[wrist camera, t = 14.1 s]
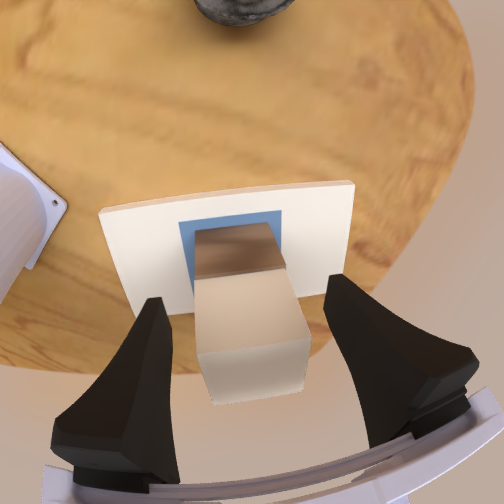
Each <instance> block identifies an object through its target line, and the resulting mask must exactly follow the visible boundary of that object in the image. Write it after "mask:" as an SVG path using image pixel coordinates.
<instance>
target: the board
mask: <svg viewBox="0 0 504 504" xmlns="http://www.w3.org/2000/svg"><path fill="white" fill-rule="evenodd" d="M354 190H355V184H353V183H352V182H351V181H350V180H336V181H318V182H303V183H289V184H277V185H265V186H255V187H245V188H235V189H226V190H217V191H209V192H201V193H193V194H186V195H179V196H172V197H165V198H158V199H152V200H145V201H139V202H133V203H127V204H121V205H116V206H110V207H105V208H102V209H101V211H100V212H99V214H98V215H99V219H100V222H101V225H102V228H103V232H104V235H105V238H106V241H107V244H108V247H109V250H110V253H111V256H112V259H113V261H114V264H115V267H116V270H117V272H118V275H119V278H120V280H121V283H122V286H123V288H124V291H125V293H126V296H127V298H128V301H129V303H130V306H131V308H132V310H133V313H134V315H135V317H136V318H137V317H138V315H139V313H140V311H141V309H142V307H143V305H144V303H145V301H146V300H147V298H153V297H162V300H163V303H164V306H165V309H166V312H167V315H176V314H185V313H194V312H195V304H194V280H195V230H202V229H210V228H219V227H227V226H236V225H245V224H254V223H263V222H268V224H269V226H270V228H271V231H272V233H273V235H274V237H275V240H276V242H277V244H278V247H279V249H280V251H281V254H282V256H283V258H284V261H285V263H286V273H287V275H288V278H289V280H290V283H291V285H292V287H293V290H294V292H295V295H296V297H297V298H301V297H307V296H313V295H318V294H324V293H326V290H327V284H328V278H329V275H334V274H340V273H343V268H344V262H345V256H346V250H347V243H348V237H349V230H350V223H351V215H352V207H353V199H354Z"/></svg>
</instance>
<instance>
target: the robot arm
mask: <svg viewBox="0 0 504 504" xmlns="http://www.w3.org/2000/svg"><path fill="white" fill-rule="evenodd" d="M54 200H56V201H57V202H58V204H55V202H54ZM66 209H67V203H66V201H65V200H64V199H62V198H61V197H60V196H59V195H58V194H56V193H55V192H54V191H53V190H52V189H51V188H49V187H48V186H47V185H46V184H45V183H44V182H43V181H41V180H40V179H39V178H38V177H37V176H36V175H35V174H34V173H32V172H31V171H30V170H29V169H28V168H27V167H26V166H25V165H24V164H22V163H21V162H20V161H19V160H18V159H17V158H16V157H15V156H14V155H13V154H12V153H11V152H10V151H9V150H8V149H6V148H5V147H4V146H3V145H2V144H1V143H0V305H1V303H2V301H3V299H4V298H5V296H6V294H7V293H8V291H9V289H10V288H11V286H12V284H13V283H14V281H15V279H16V278H17V276H18V275H19V273H20V272H21V270H22V268H23V267H25V268H27V269H29V270H31V269H32V268H33V267H34V265H35V263H36V261H37V259H38V257H39V255H40V254H41V252H42V250H43V248H44V246H45V244H46V243H47V241H48V239H49V237H50V236H51V234H52V232H53V230H54V229H55V227H56V225H57V224H58V222H59V220H60V219H61V217H62V216H63V214H64V212H65V211H66ZM323 309H324V313H325V316H326V319H327V322H328V325H329V328H330V330H331V332H332V334H333V336H334V338H335V340H336V342H337V345H338V347H339V349H340V351H341V353H342V355H343V357H344V359H345V361H346V363H347V365H348V368H349V370H350V372H351V375H352V378H353V381H354V384H355V387H356V391H357V394H358V397H359V401H360V405H361V408H362V412H363V416H364V421H365V425H366V430H367V435H368V441H369V447H370V449H369V450H366V451H363V452H360V453H357V454H354V455H351V456H348V457H345V458H342V459H338V460H335V461H332V462H329V463H325V464H321V465H317V466H313V467H309V468H306V469H302V470H297V471H293V472H287V473H282V474H278V475H272V476H267V477H260V478H254V479H246V480H238V481H228V482H219V483H218V482H217V483H203V484H179V483H180V478H179V472H178V467H177V461H176V455H175V448H174V441H173V433H172V423H171V410H170V385H171V369H172V354H173V343H172V328H171V325H170V322H169V319H168V316H167V312H166V309H165V306H164V303H163V300H162V297H153V298H147V300H146V301H145V303H144V305H143V307H142V309H141V311H140V313H139V315H138V317H137V319H136V321H135V323H134V324H133V326H132V328H131V330H130V331H129V333H128V335H127V337H126V338H125V340H124V342H123V343H122V345H121V346H120V348H119V350H118V351H117V353H116V354H115V356H114V357H113V359H112V360H111V362H110V363H109V364H108V366H107V367H106V368H105V370H104V371H103V372H102V373H101V375H100V376H99V377H98V378H97V380H96V381H95V382H94V383H93V384H92V385H91V387H90V388H89V389H88V390H87V391H86V392H85V393H84V394H83V395H82V396H81V397H80V398H79V399H78V400H77V401H76V402H75V403H74V404H72V405H71V406H70V407H69V408H68V409H67V410H65V411H64V412H63V413H62V414H61V415H59V416H58V417H57V418H55V422H54V426H53V432H52V439H51V447H50V449H51V450H52V451H53V452H54V454H56V455H57V456H59V457H60V458H62V459H64V460H65V461H67V462H69V463H70V464H72V465H74V471H70V470H66V469H63V468H58V467H53V466H49V465H44V470H43V482H42V499H41V504H221V503H220V502H184V501H212V500H225V499H236V498H244V497H252V496H259V495H265V494H271V493H276V492H282V491H287V490H292V489H296V488H301V487H305V486H309V485H313V484H317V483H321V482H324V481H328V480H331V479H334V478H338V477H341V476H344V475H347V474H350V473H353V472H356V471H359V470H362V469H365V468H367V467H370V466H373V465H375V464H378V463H380V462H382V463H380V464H378V465H376V466H373V467H371V468H369V469H367V470H365V471H364V473H363V474H361V475H360V476H358V477H356V478H355V479H353V480H352V481H351V482H352V483H349V484H345V485H342V486H339V487H335V488H332V489H328V490H325V491H321V492H317V493H313V494H309V495H305V496H301V497H297V498H293V499H289V500H284V501H279V502H274V503H269V504H410V501H409V499H408V496H407V494H409V493H411V492H413V491H414V490H416V489H418V488H420V487H422V486H424V485H425V484H427V483H429V482H431V481H432V480H434V479H435V478H437V477H439V476H441V475H442V474H444V473H445V472H447V471H449V470H450V469H452V468H453V467H455V466H456V465H458V464H459V463H460V462H462V461H463V460H465V459H466V458H468V457H469V456H470V455H472V454H473V453H474V452H476V451H477V450H478V449H480V448H481V447H482V446H484V445H485V444H486V443H487V442H489V441H490V440H491V439H492V438H494V437H495V436H496V435H497V434H498V433H500V432H501V431H502V430H503V429H504V414H503V412H502V410H501V408H500V406H499V405H498V403H497V402H496V400H495V398H494V396H493V394H492V393H491V391H490V389H489V388H488V386H485V387H484V388H482V389H481V390H479V391H477V392H476V393H474V394H473V395H471V396H470V397H469V398H468V399H467V398H466V396H465V394H466V393H467V389H466V388H465V386H464V385H465V384H466V383H467V382H468V381H469V380H470V378H471V377H472V376H473V375H474V374H475V372H476V371H477V369H478V367H479V361H478V359H477V358H476V356H475V355H474V353H473V352H472V350H471V349H470V348H468V347H465V346H461V345H458V344H455V343H452V342H449V341H446V340H444V339H441V338H439V337H436V336H434V335H432V334H429V333H427V332H425V331H423V330H421V329H419V328H417V327H415V326H414V325H412V324H410V323H408V322H407V321H405V320H403V319H402V318H400V317H398V316H397V315H395V314H394V313H392V312H391V311H389V310H388V309H386V308H385V307H384V306H382V305H381V304H380V303H378V302H377V301H376V300H374V299H373V298H372V297H371V296H369V295H368V294H367V293H366V292H364V291H363V290H362V289H361V288H359V287H358V286H357V285H356V284H354V283H353V282H352V281H351V280H349V279H348V278H347V277H346V276H344V275H343V274H342V273H340V274H334V275H329V278H328V284H327V290H326V296H325V301H324V307H323ZM385 460H386V461H385ZM383 461H384V462H383Z"/></svg>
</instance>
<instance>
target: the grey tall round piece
mask: <svg viewBox="0 0 504 504" xmlns="http://www.w3.org/2000/svg"><path fill="white" fill-rule="evenodd" d="M194 1H195V3H196V5H197V7H198V9H199V10H200V11H201V12H202V13H203V14H204V15H205V16H206V17H207V18H209V19H211V20H212V21H214V22H217V23H220V24H223V25H226V26H236V27H238V26H248V25H251V24H255V23H258V22H260V21H262V20H263V19H265V18H267V17H269V16H273V15H275V14H277V13H279V12H281V11H282V10H284V9H286V8H287V7H288V6H289V5H290V4H291V3H292V2H293V1H294V0H194Z"/></svg>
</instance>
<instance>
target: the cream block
mask: <svg viewBox="0 0 504 504" xmlns="http://www.w3.org/2000/svg"><path fill="white" fill-rule="evenodd" d="M194 304H195V341H196V356H197V359H198V362H199V365H200V368H201V371H202V374H203V377H204V380H205V383H206V385H207V388H208V391H209V394H210V397H211V400H212V402H213V405H221V404H229V403H237V402H244V401H251V400H257V399H263V398H269V397H274V396H280V395H286V394H291V393H295V392H300V391H302V390H303V386H304V380H305V375H306V369H307V364H308V359H309V353H310V347H311V341H312V335H311V332H310V330H309V327H308V325H307V322H306V320H305V317H304V315H303V312H302V310H301V307H300V305H299V302H298V300H297V297H296V295H295V292H294V290H293V287H292V285H291V283H290V280H289V278H288V275H287V273H286V270H285V268H283V269H276V270H269V271H262V272H255V273H247V274H240V275H232V276H225V277H217V278H209V279H201V280H194Z"/></svg>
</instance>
